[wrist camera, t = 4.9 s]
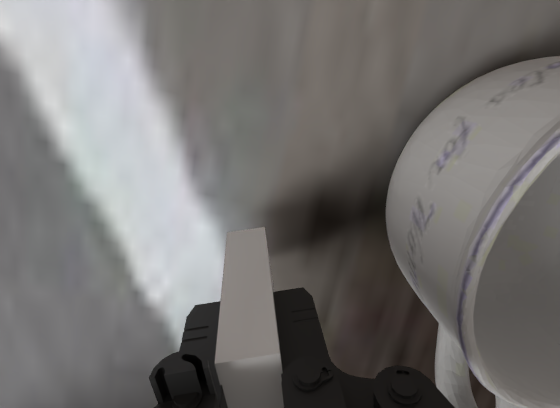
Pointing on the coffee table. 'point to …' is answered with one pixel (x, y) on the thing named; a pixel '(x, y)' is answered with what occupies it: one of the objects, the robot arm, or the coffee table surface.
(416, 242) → the teacup
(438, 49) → the coffee table surface
